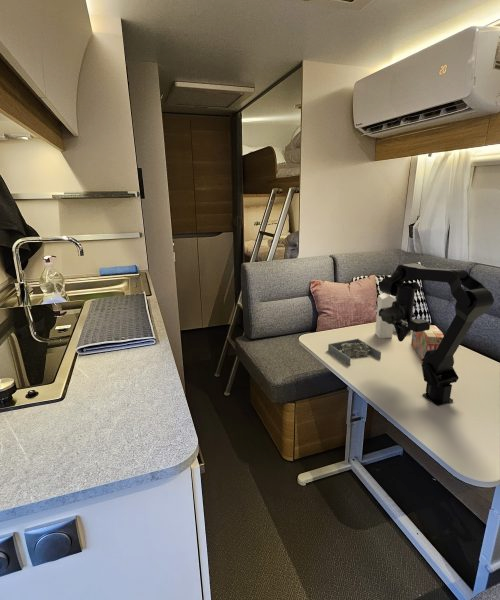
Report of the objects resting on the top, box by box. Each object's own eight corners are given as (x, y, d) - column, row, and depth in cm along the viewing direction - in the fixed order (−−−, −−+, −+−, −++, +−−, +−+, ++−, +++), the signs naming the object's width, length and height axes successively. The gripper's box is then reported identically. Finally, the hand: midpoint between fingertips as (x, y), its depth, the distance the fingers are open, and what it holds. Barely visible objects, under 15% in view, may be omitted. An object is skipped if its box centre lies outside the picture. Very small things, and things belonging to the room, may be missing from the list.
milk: (387, 333, 165) (392, 288, 159) (392, 338, 159) (397, 292, 153) (374, 333, 165) (378, 288, 159) (378, 338, 159) (383, 292, 153)
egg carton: (344, 357, 142) (345, 348, 141) (340, 350, 149) (340, 341, 148) (370, 357, 142) (371, 347, 141) (364, 349, 149) (365, 340, 148)
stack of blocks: (410, 343, 153) (413, 317, 150) (425, 344, 152) (429, 317, 149) (424, 365, 133) (427, 335, 130) (441, 366, 132) (446, 336, 129)
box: (380, 358, 139) (381, 352, 138) (349, 365, 135) (349, 358, 134) (357, 344, 153) (357, 338, 152) (328, 350, 148) (328, 344, 147)
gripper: (368, 295, 125) (365, 335, 130) (406, 310, 109) (401, 355, 113) (392, 292, 129) (389, 331, 133) (433, 305, 112) (428, 349, 117)
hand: (400, 341), depth 124 cm, fingers closed
